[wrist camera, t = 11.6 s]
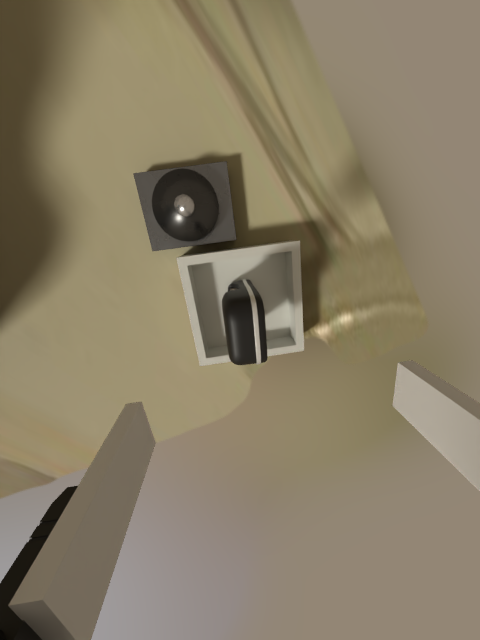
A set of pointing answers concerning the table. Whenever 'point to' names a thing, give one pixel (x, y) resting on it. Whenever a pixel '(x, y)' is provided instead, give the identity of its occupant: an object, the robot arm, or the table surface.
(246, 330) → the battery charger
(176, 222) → the speaker
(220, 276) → the tray
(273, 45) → the table surface
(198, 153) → the table surface
